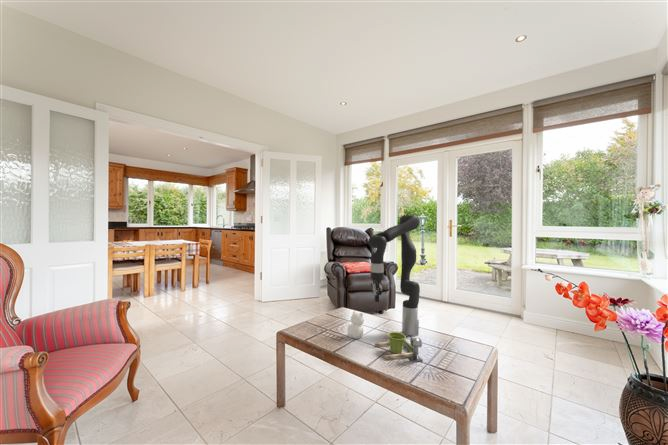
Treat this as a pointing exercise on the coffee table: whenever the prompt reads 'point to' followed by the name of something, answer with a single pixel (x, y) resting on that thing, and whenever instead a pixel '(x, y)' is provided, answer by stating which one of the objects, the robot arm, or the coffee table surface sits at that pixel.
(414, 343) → the winch post
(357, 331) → the cat figurine
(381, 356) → the coffee table surface
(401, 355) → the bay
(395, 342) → the plant pot
